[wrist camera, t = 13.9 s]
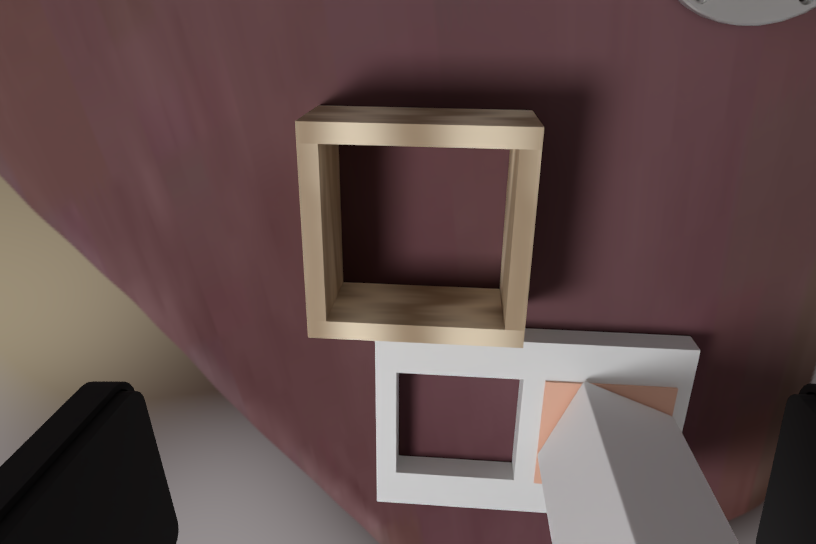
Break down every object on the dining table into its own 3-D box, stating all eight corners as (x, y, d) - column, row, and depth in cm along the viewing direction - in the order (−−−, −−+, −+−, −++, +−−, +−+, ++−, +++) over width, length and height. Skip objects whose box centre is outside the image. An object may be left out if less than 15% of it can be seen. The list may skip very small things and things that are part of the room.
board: (690, 336, 43) (701, 352, 41) (654, 501, 49) (662, 522, 47) (378, 321, 45) (374, 336, 43) (380, 483, 51) (376, 503, 49)
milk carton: (622, 486, 46) (719, 777, 29) (536, 453, 45) (581, 728, 28) (674, 415, 43) (816, 689, 26) (582, 378, 43) (665, 633, 25)
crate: (532, 110, 38) (544, 127, 33) (515, 304, 43) (523, 348, 38) (318, 105, 39) (294, 121, 34) (327, 296, 44) (308, 337, 39)
